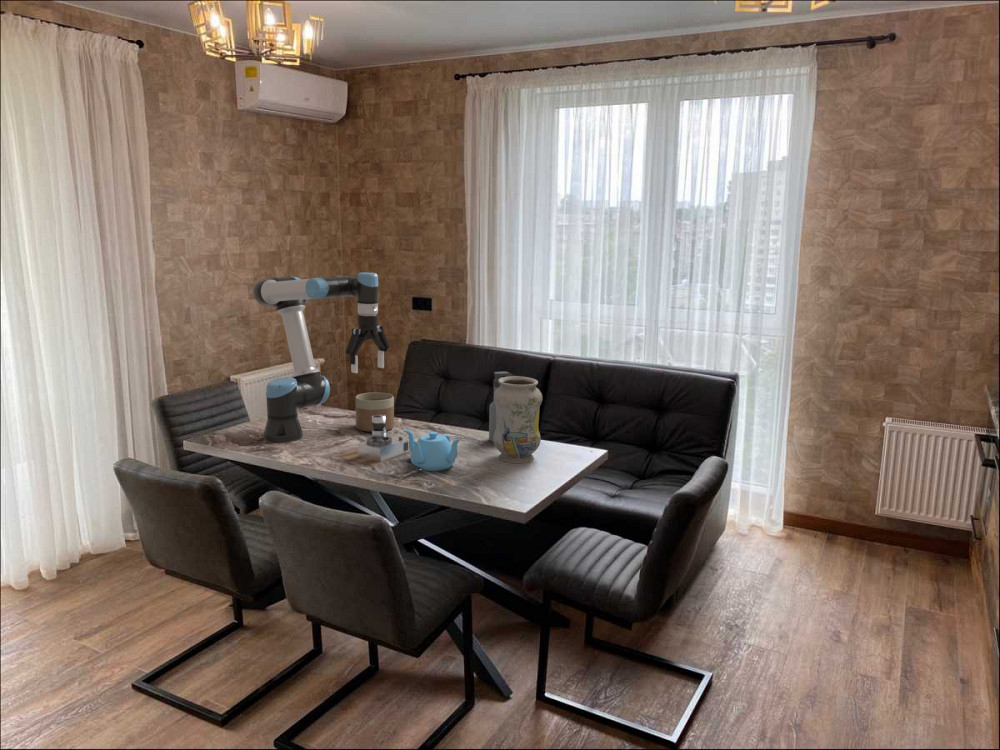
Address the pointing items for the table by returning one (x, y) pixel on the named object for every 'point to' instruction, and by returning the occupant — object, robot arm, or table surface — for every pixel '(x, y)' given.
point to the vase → (517, 418)
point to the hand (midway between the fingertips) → (367, 370)
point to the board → (354, 457)
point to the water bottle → (492, 406)
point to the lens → (379, 427)
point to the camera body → (383, 448)
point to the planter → (374, 409)
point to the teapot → (432, 451)
